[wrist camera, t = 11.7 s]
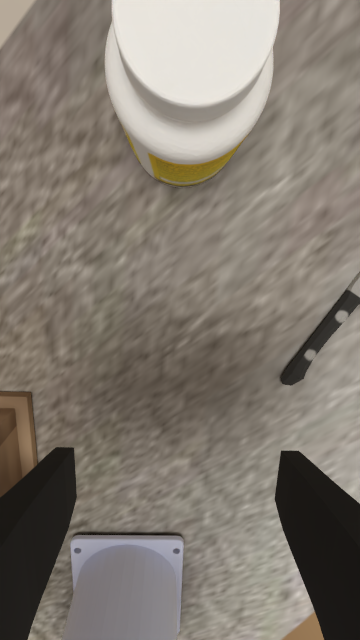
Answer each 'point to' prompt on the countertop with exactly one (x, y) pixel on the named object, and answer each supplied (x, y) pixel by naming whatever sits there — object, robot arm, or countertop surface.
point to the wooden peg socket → (16, 438)
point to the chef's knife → (323, 333)
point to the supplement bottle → (189, 80)
